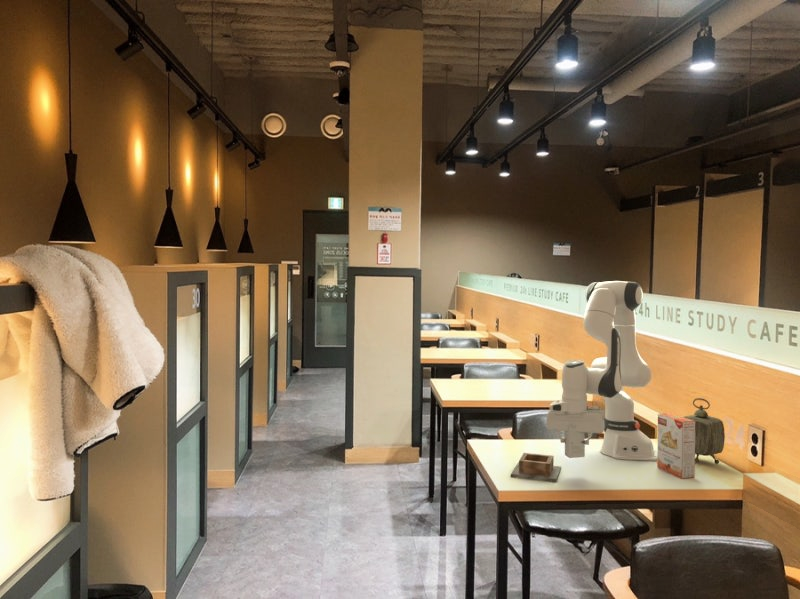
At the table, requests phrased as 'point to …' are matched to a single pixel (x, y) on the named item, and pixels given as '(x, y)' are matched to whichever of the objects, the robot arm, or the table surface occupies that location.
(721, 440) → the tabletop clock
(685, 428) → the cracker box
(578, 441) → the skincare box
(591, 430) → the robot arm
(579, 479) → the table surface
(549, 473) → the box holder
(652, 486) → the table surface
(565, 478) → the table surface
